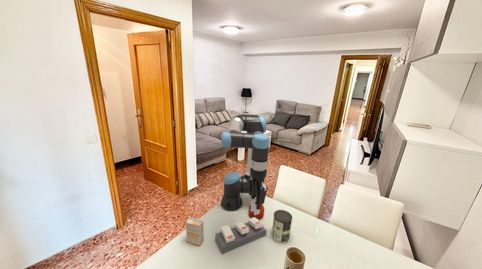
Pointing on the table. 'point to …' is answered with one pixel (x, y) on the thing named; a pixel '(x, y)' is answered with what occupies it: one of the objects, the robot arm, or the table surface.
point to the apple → (257, 214)
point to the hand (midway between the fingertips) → (255, 212)
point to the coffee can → (281, 226)
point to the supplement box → (195, 231)
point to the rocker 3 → (255, 223)
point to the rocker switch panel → (239, 237)
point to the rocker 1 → (227, 234)
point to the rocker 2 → (241, 227)
